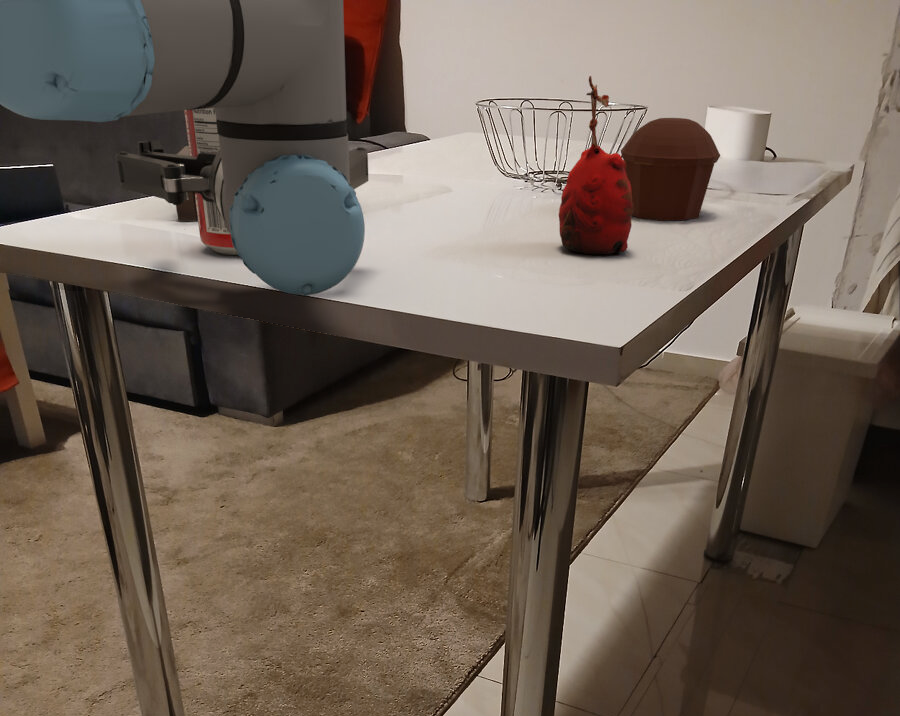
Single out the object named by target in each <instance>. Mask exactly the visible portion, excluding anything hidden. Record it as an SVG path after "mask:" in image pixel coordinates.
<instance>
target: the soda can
mask: <svg viewBox="0 0 900 716" xmlns="http://www.w3.org/2000/svg"><path fill="white" fill-rule="evenodd" d="M183 112H184V119H185V128H186V137H187V144H188V146H189V152H190V156H193V157H197V156H198V154H199V153H205V152H218V151H219V150H220V143H219V134H218V133H217V123H216V113H215V108H208V109H194V110H183ZM195 200H196V208H197V216H198V219H197V222H198V231H199V238H200V242H201V243H202V244H203V245H204V246H206V247H208V248H209V249H211V250H212V251H214V252H215V253H218V254H222V255H226V256H227V255H228V256H238V254H237V250H236V249H235V248H234V247H233V244H232V240H231V234H230V232H229V230H228V229H227V226H226V224H225V223H224V221H223V219H222V217H221V215H220V214H219V212H218V210H217V208H216V206H215V203H214V202H207V201H205V200H204V199H203V197H202V196H201V194H199V193H195Z"/></svg>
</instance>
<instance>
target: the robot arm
mask: <svg viewBox="0 0 900 716" xmlns="http://www.w3.org/2000/svg"><path fill="white" fill-rule="evenodd" d="M344 14H345V13H344V0H0V106H2V107H3V108H5V109H7V110H8V111H9V110H10V111H11V112H13V113H15V114H17V115H19V116H22V117H25V118H29V119H32V120H33V119H34V120H40V121H41V120H42V121H43V120H46V121H47V120H48V121H77V122H93V123H106V122H112V121H118V120H119V119H122V117H132V116H133V117H134V116H141V115H149V114H150V115H151V114H161V113H171V112H179V111H184V110H194V109H208V108H215V113H216V123H217V133H218V134H219V143H220V150H219V151H218V152H205V153H199V154H198V156H197V157H193V156H185V155H177V153H176V154H175V153H168V152H167V153H166V152H165V151H164V147H163V144H162V141H161V140H155V139H154V140H151V141H149V140H147V141H146V140H142V141H137V142H136V143H137V149H138V154H135V153H129V152H127V151H120V152H117V153H115V160H116V166H117V172H118V178H119V184H120V189H124V190H126V191H132V192H134V193H135V192H136V193H140V194H143V195H147V196H151V197H155V198H159V199H163V200H164V201H165V202H166V203H168V204H172V205H173V206H176V205H180V204H182V203H184V202H185V201H184V200H189V195H188V192H191V193H199V194H201V196H202V197H203V199H204V200H205V201H207V202H214V203H215V206H216V208H217V210H218V212H219V214H220V215H221V217H222V219H223V221H224V223H225V224H226V226H227V229H228V230H229V232H230V234H231V240H232V244H233V247H234V248H235V249H236V250H237V254H238V255H237V256H238V257H239V258H240V260H241V261H242V263H243V265H244V266H245V267H246V269H248V270H249V271H250V272H251V273H252V274H253V275H256V276H257V277H258V279H260V280H261V281H262V282H263V283H265V284H266V285H267V286H269V287H271V288H273V289H275V290H277V291H279V292H282V293H286V294H289V295H296V296H306V297H307V296H310V295H316V294H320V293H324V292H326V291H328V290H330V289H332V288H334V287H336V286H337V285H339V284H340V283H341V282H342V281H343V280H345V278H347V276H348V275H350V273H351V272H352V271H353V269H354V268H355V266H356V265H357V263H358V261H359V260H360V256H361V254H362V251H363V248H364V243H365V235H366V234H365V232H366V230H365V229H366V227H365V226H366V225H365V218H364V213H363V208H362V206H361V203H360V202H359V199H358V196H357V192H356V189H357V188H359V187H361V186H362V185H364V184H366V183H368V182H369V156H368V155H369V152H368V151H369V150H368V149H367V148H366V147H363V146H362V147H360V146H358V147H357V148H354V149H353V148H352V149H351V150H349V149H350V148H349V133H348V132H347V131H348V129H347V128H348V127H347V92H346V91H347V89H346V88H347V87H346V55H345V52H346V51H345V48H346V47H345V19H344V18H345V15H344Z"/></svg>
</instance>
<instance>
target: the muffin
mask: <svg viewBox="0 0 900 716" xmlns="http://www.w3.org/2000/svg"><path fill="white" fill-rule="evenodd" d="M620 156H621V157H622V159H623V160H624V161H625V162H626V174H627V178H628V180H629V182H630V184H631V193H632V203H633V206H634V211H633V214H632V217H634V218H637V219H646V220H655V221H687V220H692V219H698V218H699V217H700V214H701V211H702V207H703V204H704V200H705V197H706V194H707V190H708V187H709V184H710V180H711V178H712V177H711V176H712V173H713V170H714V167H715V164H716V163H718V161H719V159H720V157H721V154H720V152H719V149H718V147H717V145H716V142H715V141H714V138H713V137H712V135H711V134H710V133H709V132H708V130H707V129H706V128H705V127H703V126H702V125H701V124H700V123H699V122H697V121H695V120H692V119H689V118H682V117H660V118H657V119H653V120H650V121H648V122H647V123H645V124H644V125H642V126H641V127H639V128H638V129H637V130H635V132H633V134H632V135H631V136H630V138H628V140H627V141H626V143H625V144H624V146H623V147H622V148H621V149H620Z"/></svg>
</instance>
